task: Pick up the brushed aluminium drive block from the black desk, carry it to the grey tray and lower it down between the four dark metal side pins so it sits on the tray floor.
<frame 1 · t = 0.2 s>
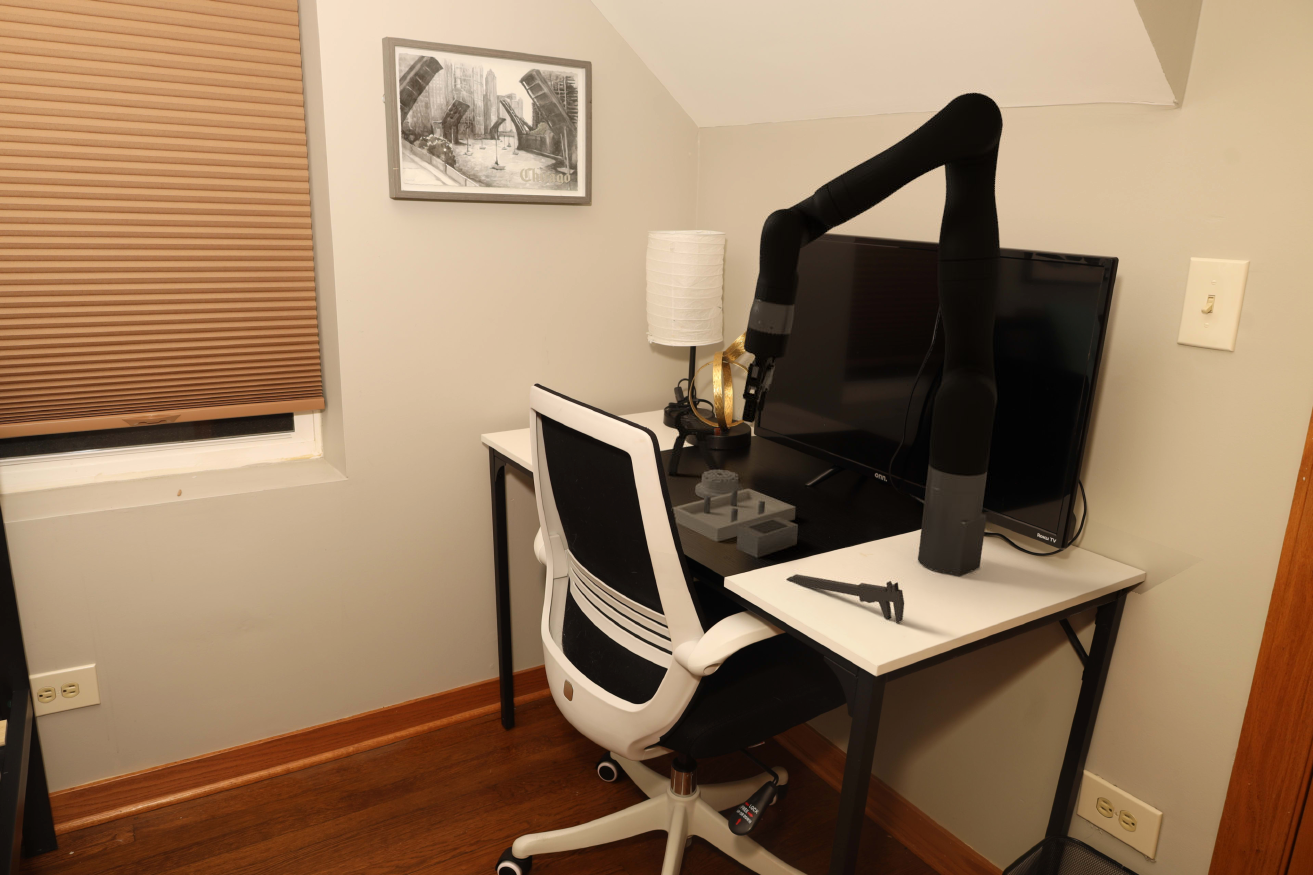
hand: (752, 415, 155), 22 cm above the table, tool pointing down, fingers open, 8 cm apart
hand grip strengthener: (695, 477, 191), on the table
mechanical component: (719, 495, 181), on the table
caliper: (841, 602, 134), on the table
pin tray: (733, 519, 166), on the table
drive: (766, 547, 154), on the table
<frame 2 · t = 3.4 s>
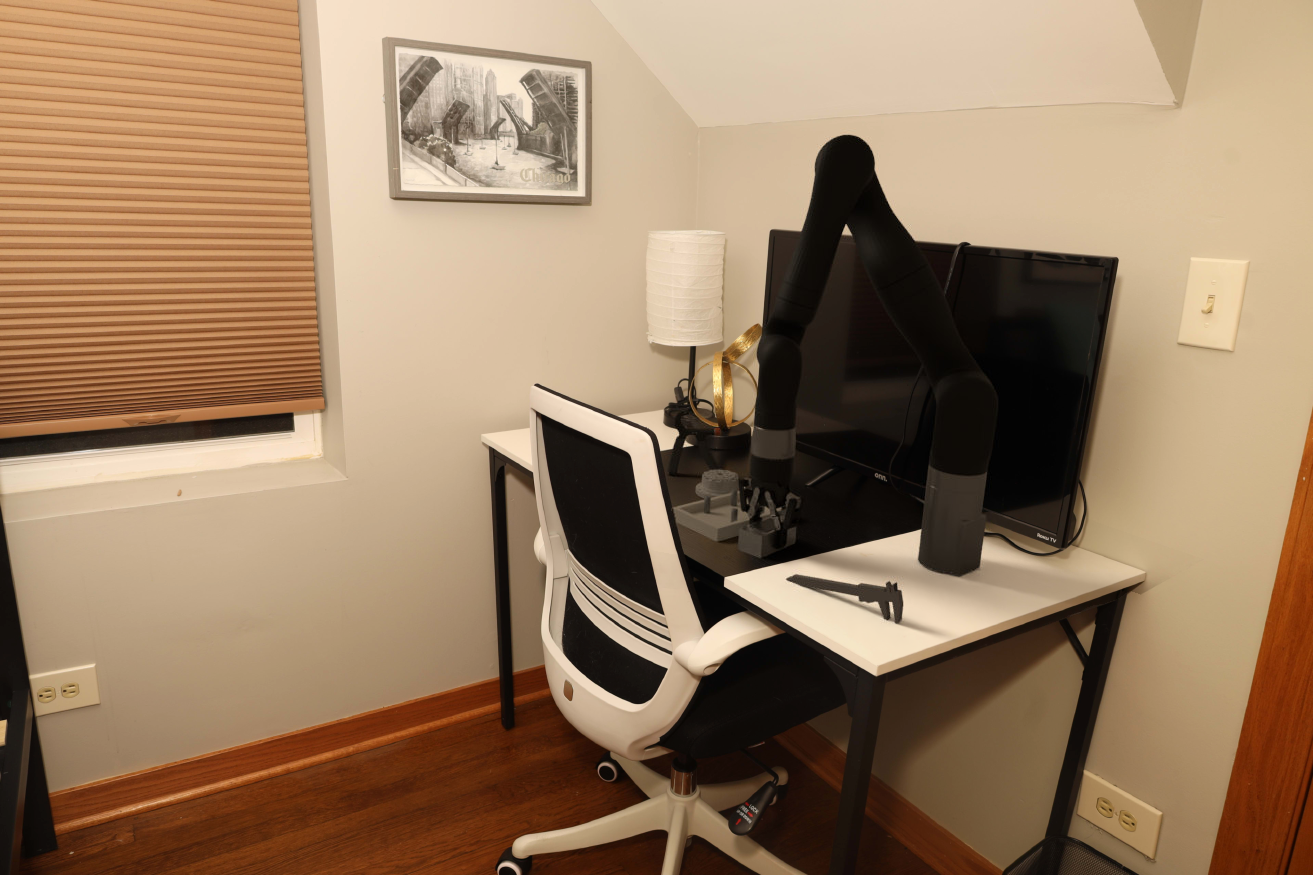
hand: (766, 542, 154), 1 cm above the table, tool pointing down, fingers closed on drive, 5 cm apart
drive: (766, 546, 154), on the table, touching gripper
everything else where it was.
when the fingers open (3 cm above the table, at t = 8.9 s): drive drops 1 cm, resting on pin tray.
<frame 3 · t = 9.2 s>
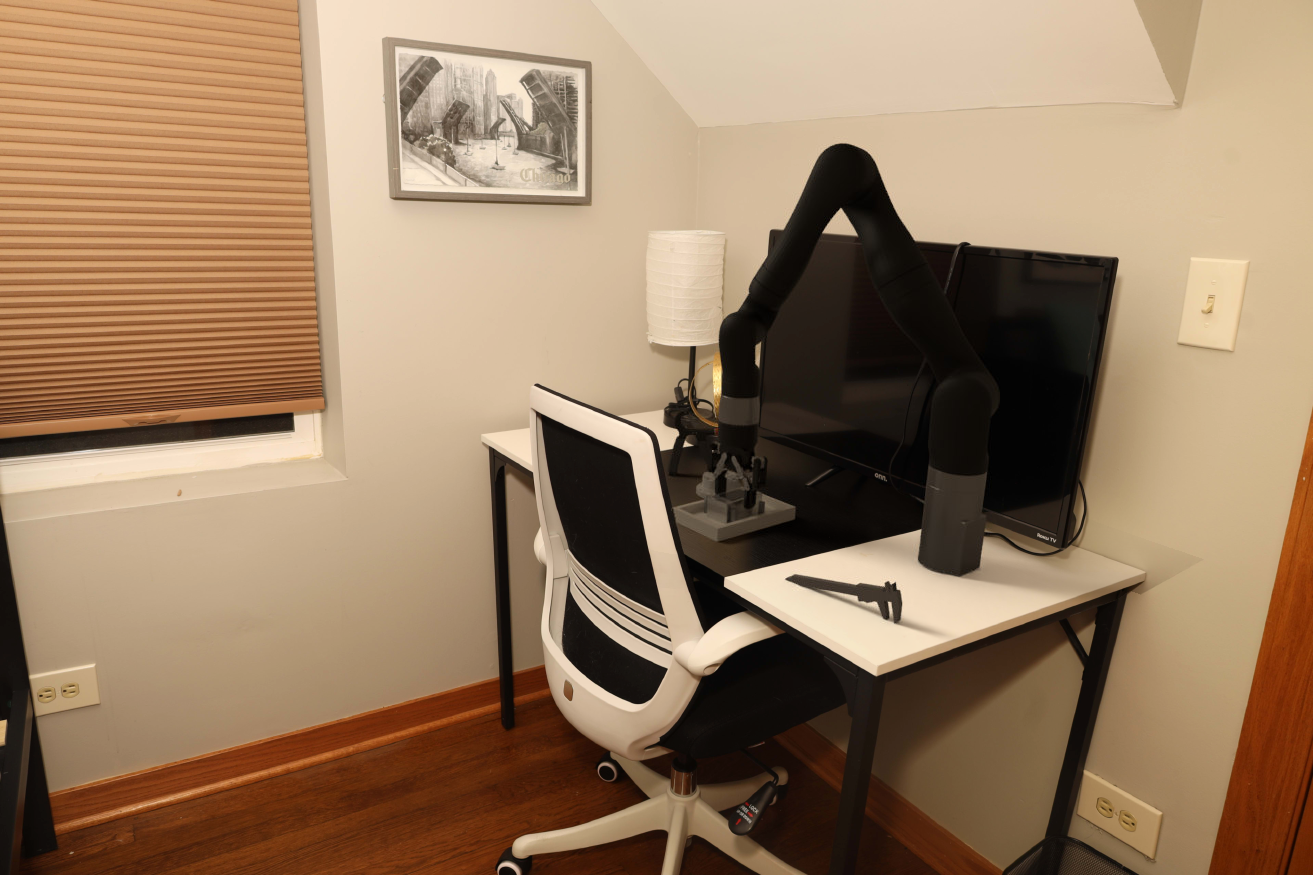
hand: (734, 501, 165), 4 cm above the table, tool pointing down, fingers open, 7 cm apart
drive: (734, 514, 166), point 1 cm above the table, touching pin tray
everything else where it was.
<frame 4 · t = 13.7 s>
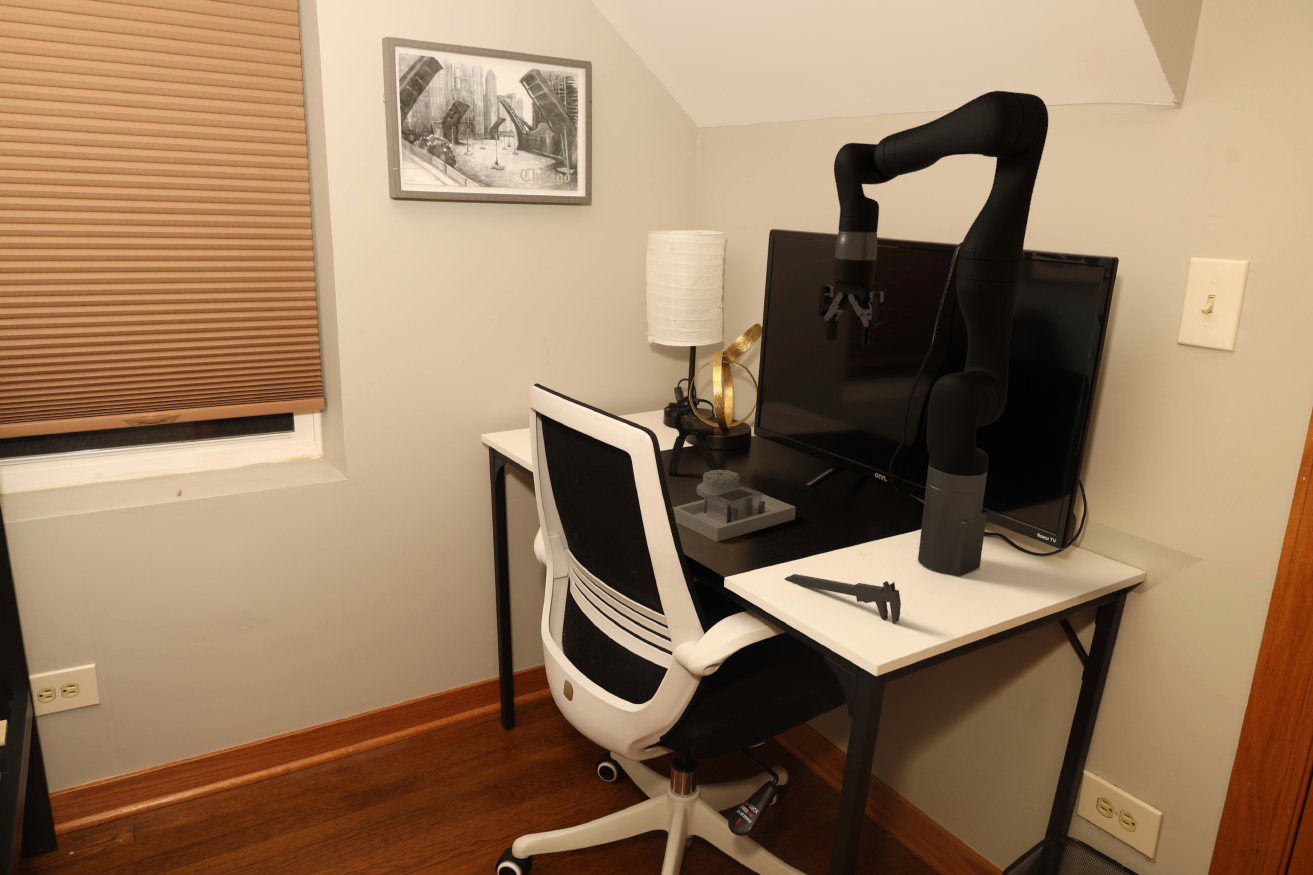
hand: (848, 343, 166), 33 cm above the table, tool pointing down, fingers open, 8 cm apart
nothing on the table moved.
at the end: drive 0.1 cm off-centre on the pin tray, point 1.0 cm above the pin tray's base; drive touching pin tray; the gripper is holding nothing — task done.
